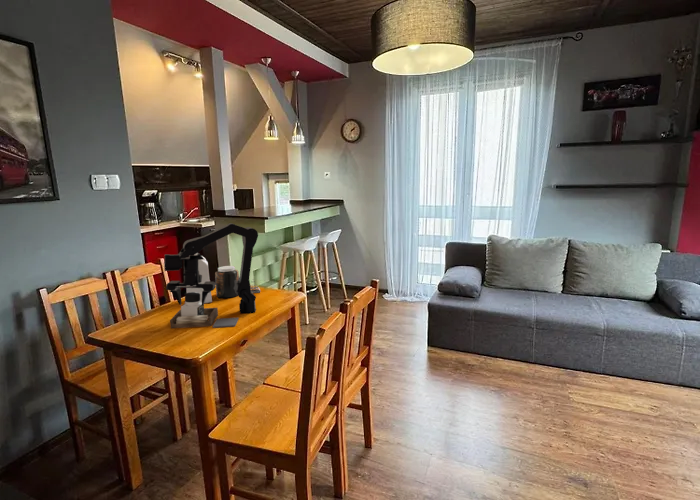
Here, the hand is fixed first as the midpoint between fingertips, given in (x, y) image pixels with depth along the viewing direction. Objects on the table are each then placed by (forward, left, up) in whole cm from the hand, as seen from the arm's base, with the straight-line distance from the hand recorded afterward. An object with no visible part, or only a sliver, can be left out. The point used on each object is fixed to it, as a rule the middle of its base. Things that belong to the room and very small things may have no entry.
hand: (191, 305), depth 160 cm
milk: (+5, -30, -7) cm, 31 cm away
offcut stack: (-1, +6, -7) cm, 9 cm away
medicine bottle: (0, 0, -7) cm, 7 cm away
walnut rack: (-1, 0, -7) cm, 7 cm away
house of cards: (-22, -42, -8) cm, 48 cm away
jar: (-8, -37, -7) cm, 39 cm away
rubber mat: (-15, +6, -7) cm, 17 cm away
